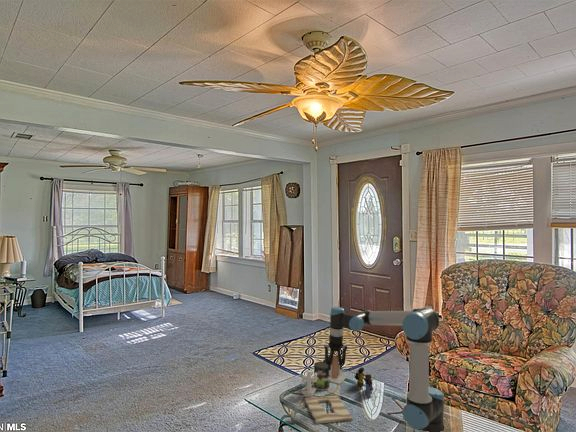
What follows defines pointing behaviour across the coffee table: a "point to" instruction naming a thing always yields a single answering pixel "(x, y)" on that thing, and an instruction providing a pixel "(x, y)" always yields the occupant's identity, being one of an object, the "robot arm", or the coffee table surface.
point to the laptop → (340, 378)
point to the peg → (335, 366)
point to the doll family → (367, 379)
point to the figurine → (309, 384)
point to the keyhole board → (322, 417)
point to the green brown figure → (322, 376)
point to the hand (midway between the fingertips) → (334, 375)
